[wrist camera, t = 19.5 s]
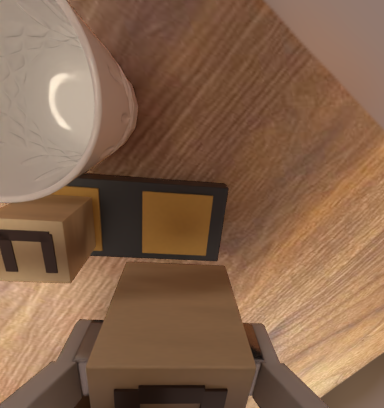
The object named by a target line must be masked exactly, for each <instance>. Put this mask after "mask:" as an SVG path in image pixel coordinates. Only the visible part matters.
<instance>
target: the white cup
mask: <svg viewBox="0 0 384 408" xmlns="http://www.w3.org/2000/svg"><path fill="white" fill-rule="evenodd" d="M137 114H138V104H137V100H136V97H135V93H134V89H133V86H132V84H131V82H130V81H129V80H128V79H127V77H126V76H125V75H124V73H123V71H122V69H121V67H120V66H119V64H118V63H117V62H116V60H115V59H114V58H113V56H112V54H111V53H110V52H109V51H108V50H107V48H106V47H105V46H104V45H103V43H102V42H101V41H100V40H99V39H98V37H97V36H96V35H95V34H94V32H93V31H92V30H91V29H90V28H89V26H88V25H87V24H86V23H85V22H84V20H83V19H82V18H81V17H80V16H79V14H78V13H77V12H76V11H75V9H74V8H73V7H72V6H71V5H70V3H69V2H68V1H67V0H0V203H18V202H26V201H32V200H36V199H39V198H42V197H45V196H48V195H50V194H52V193H54V192H56V191H58V190H60V189H61V188H63V187H64V186H66V185H67V184H69V183H70V182H72V181H73V180H75V179H76V178H78V177H79V176H81V175H82V174H84V173H85V172H87V171H88V170H90V169H91V168H93V167H94V166H96V165H97V164H99V163H100V162H102V161H103V160H105V159H106V158H107V157H108V156H110V155H111V154H113V153H114V152H115V151H116V150H117V149H118V148H119V147H120V146H122V145H124V144H125V143H126V141H127V140H128V138H129V137H130V135H131V134H132V133H133V131H134V130H135V128H136V121H137Z"/></svg>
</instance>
